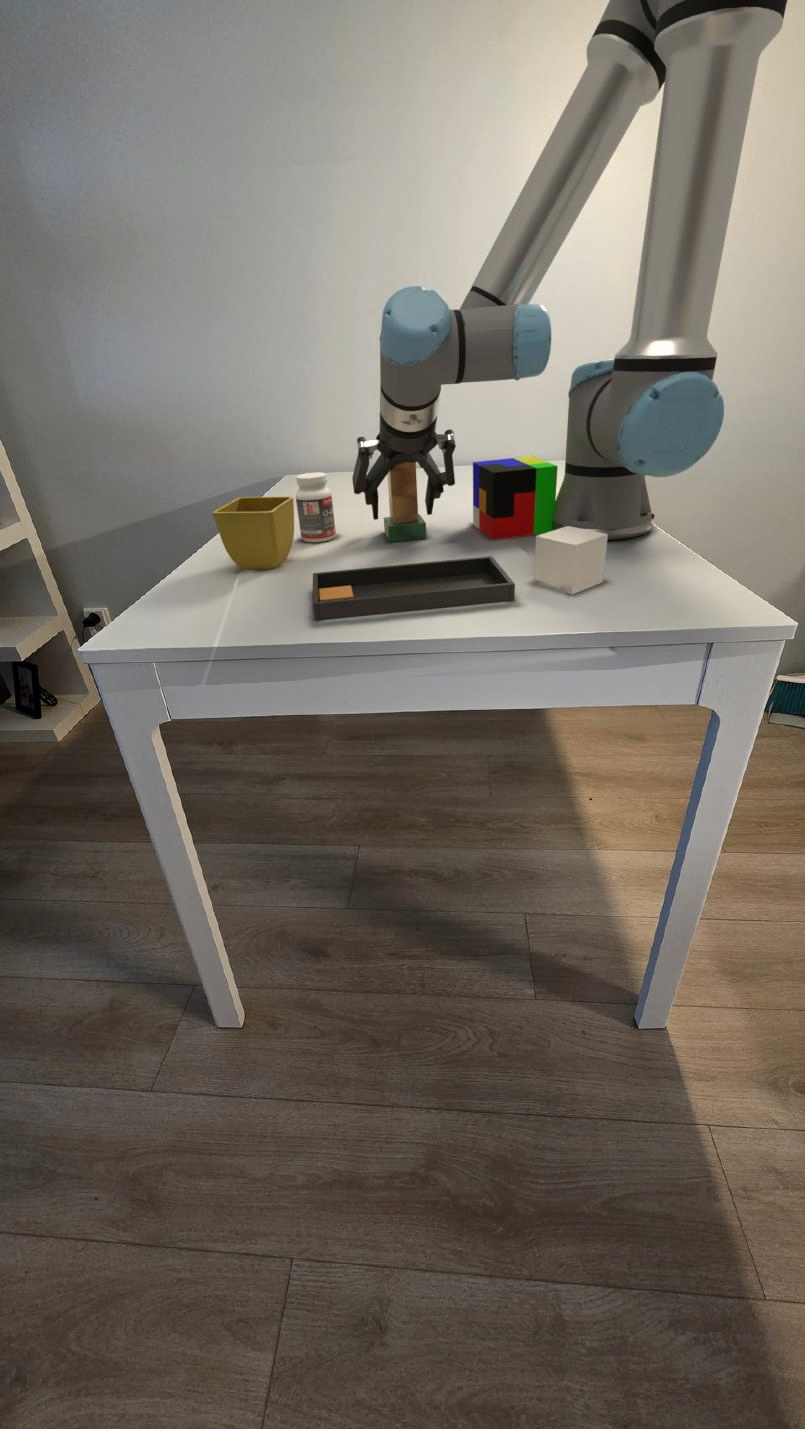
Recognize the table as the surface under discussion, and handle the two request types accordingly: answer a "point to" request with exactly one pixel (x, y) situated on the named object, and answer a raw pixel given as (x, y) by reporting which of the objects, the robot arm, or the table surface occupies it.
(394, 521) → the stacked blocks
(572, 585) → the beige cube
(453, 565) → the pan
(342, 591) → the orange flat block
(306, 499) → the pill bottle
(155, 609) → the table surface
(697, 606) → the table surface
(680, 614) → the table surface
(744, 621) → the table surface
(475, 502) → the puzzle toy
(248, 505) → the flower pot
